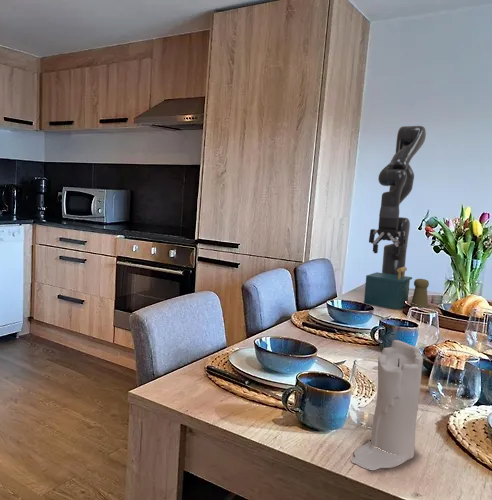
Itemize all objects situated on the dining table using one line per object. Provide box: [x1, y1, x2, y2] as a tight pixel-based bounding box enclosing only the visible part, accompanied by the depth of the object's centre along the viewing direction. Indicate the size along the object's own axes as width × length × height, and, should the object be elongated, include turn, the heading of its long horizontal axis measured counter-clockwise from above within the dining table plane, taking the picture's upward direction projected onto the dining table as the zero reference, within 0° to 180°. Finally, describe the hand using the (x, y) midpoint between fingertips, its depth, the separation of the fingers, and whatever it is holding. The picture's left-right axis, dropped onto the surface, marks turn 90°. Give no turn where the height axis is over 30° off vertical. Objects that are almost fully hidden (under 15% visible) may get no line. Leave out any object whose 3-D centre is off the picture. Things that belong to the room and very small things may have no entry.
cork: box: [410, 278, 430, 309], centre depth 200 cm, size 6×6×11 cm
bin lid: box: [365, 266, 413, 283], centre depth 201 cm, size 14×11×5 cm
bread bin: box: [363, 276, 411, 310], centre depth 202 cm, size 13×11×11 cm
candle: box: [350, 339, 424, 471], centre depth 89 cm, size 7×14×20 cm, turn 125°
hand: (385, 254), depth 217 cm, fingers open, 8 cm apart
